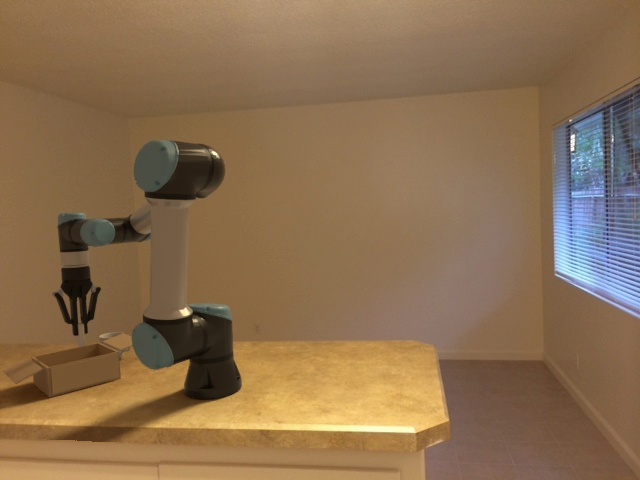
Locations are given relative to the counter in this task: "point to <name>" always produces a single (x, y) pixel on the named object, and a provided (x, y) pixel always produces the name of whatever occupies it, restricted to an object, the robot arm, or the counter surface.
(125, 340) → the flap far
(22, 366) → the flap near
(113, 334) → the cup
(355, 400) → the counter surface
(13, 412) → the counter surface
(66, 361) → the carton
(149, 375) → the counter surface
